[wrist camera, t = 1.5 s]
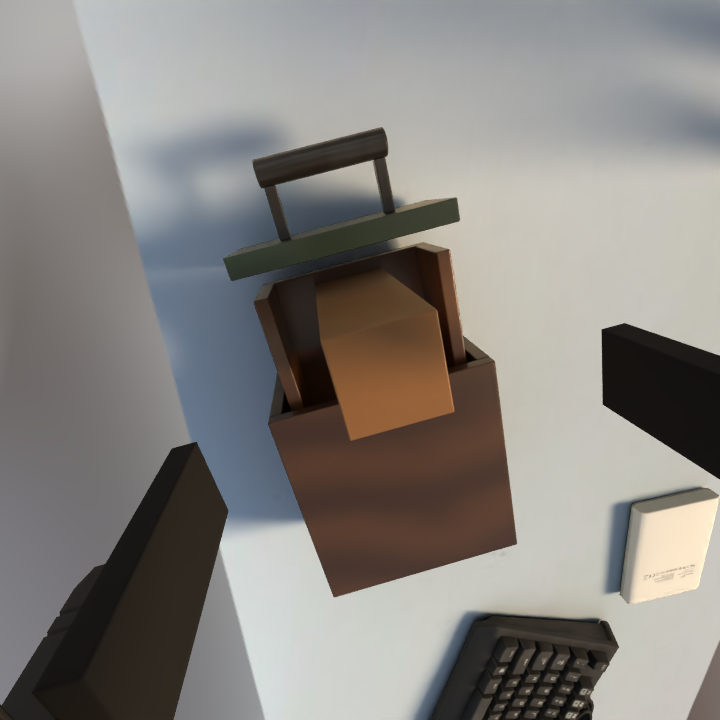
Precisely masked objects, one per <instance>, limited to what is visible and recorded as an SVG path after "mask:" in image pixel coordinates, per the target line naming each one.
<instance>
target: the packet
mask: <svg viewBox="0 0 720 720" xmlns="http://www.w3.org/2000/svg"><path fill="white" fill-rule="evenodd" d="M315 294H316V303H317V313H318V322H319V331H320V340H321V345H322V348H323V352H324V355H325V358H326V362H327V365H328V369H329V372H330V375H331V379H332V382H333V386H334V389H335V392H336V396H337V399H338V403H339V406H340V409H341V413H342V416H343V419H344V423H345V426H346V430H347V433H348V436H349V439H350V441H352V440H355V439H359V438H363V437H366V436H370V435H373V434H377V433H380V432H384V431H388V430H391V429H395V428H398V427H402V426H405V425H409V424H413V423H416V422H420V421H423V420H427V419H431V418H434V417H438V416H441V415H445V414H448V413H452V412H454V405H453V399H452V393H451V388H450V382H449V376H448V370H447V364H446V359H445V353H444V347H443V341H442V335H441V329H440V324H439V318H438V312H437V309H435V308H434V307H433V306H431V305H430V304H429V303H427V302H426V301H425V300H423V299H422V298H421V297H419V296H418V295H417V294H415V293H414V292H413V291H411V290H410V289H409V288H407V287H406V286H405V285H403V284H402V283H401V282H399V281H398V280H397V279H395V278H394V277H393V276H391V275H390V274H389V273H387V272H386V271H385V270H383V269H382V268H377V269H373V270H369V271H366V272H362V273H358V274H354V275H350V276H347V277H343V278H339V279H335V280H332V281H328V282H324V283H320V284H317V285H315Z"/></svg>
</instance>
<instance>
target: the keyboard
mask: <svg viewBox="0 0 720 720" xmlns="http://www.w3.org/2000/svg"><path fill="white" fill-rule="evenodd" d="M618 648H619V646H618V644H617V641H616V639H615V637H614V635H613V632H612V630H611V628H610V625H609V624H608V622H607V621H600V623H586V622H573V621H560V620H545V619H531V618H516V617H501V616H491V617H489V618H488V619H486V620H484V621H476V622H475V623H474V625H473V627H472V629H471V631H470V634H469V636H468V638H467V641H466V643H465V645H464V647H463V650H462V652H461V654H460V657H459V659H458V661H457V664H456V666H455V668H454V670H453V673H452V675H451V677H450V679H449V682H448V684H447V686H446V688H445V691H444V693H443V695H442V697H441V699H440V702H439V704H438V706H437V708H436V711H435V713H434V715H433V717H432V720H592V712H593V709H594V704H593V701H592V700H591V699H590V694H591V693H592V691H593V690H594V686H595V685H596V683H597V682H598V680H599V678H600V677H601V675H602V673H603V672H605V671H606V669H607V667H608V666H609V662H610V661H611V659H612V657H613V656H614V654H615V653H616V651H617V649H618Z"/></svg>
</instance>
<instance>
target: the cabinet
mask: <svg viewBox="0 0 720 720" xmlns="http://www.w3.org/2000/svg"><path fill="white" fill-rule="evenodd" d="M463 340H464V347H465V354H466V360H467V363H465V364H462V365H458V366H454V367H451V368H447V370H448V376H449V382H450V388H451V393H452V399H453V405H454V412H452V413H448V414H445V415H441V416H438V417H434V418H431V419H427V420H423V421H420V422H416V423H413V424H409V425H405V426H402V427H398V428H395V429H391V430H388V431H384V432H380V433H377V434H373V435H370V436H366V437H363V438H359V439H355V440H352V441H350V439H349V436H348V433H347V430H346V426H345V423H344V419H343V416H342V413H341V409H340V406H339V403H338V399H335V400H331V401H328V402H324V403H320V404H317V405H313V406H309V407H306V408H302V409H299V410H295V411H291V408H290V406H289V403H288V400H287V397H286V394H285V391H284V388H283V385H282V383H281V380H280V377H279V374H277V378H276V384H275V389H274V395H273V400H272V406H271V411H270V417H269V422H268V425H269V428H270V430H271V433H272V436H273V438H274V441H275V444H276V446H277V449H278V452H279V454H280V457H281V459H282V462H283V465H284V467H285V470H286V473H287V475H288V478H289V481H290V483H291V486H292V488H293V491H294V494H295V496H296V499H297V502H298V504H299V507H300V510H301V512H302V515H303V517H304V520H305V523H306V525H307V528H308V531H309V533H310V536H311V539H312V541H313V544H314V546H315V549H316V552H317V554H318V557H319V560H320V562H321V565H322V568H323V570H324V573H325V575H326V578H327V581H328V583H329V586H330V589H331V591H332V594H333V596H334V597H338V596H341V595H344V594H348V593H351V592H355V591H358V590H362V589H365V588H368V587H372V586H375V585H379V584H382V583H386V582H389V581H392V580H396V579H399V578H403V577H406V576H410V575H413V574H416V573H420V572H423V571H427V570H430V569H433V568H437V567H440V566H444V565H447V564H451V563H454V562H457V561H461V560H464V559H468V558H471V557H475V556H478V555H481V554H485V553H488V552H492V551H495V550H499V549H502V548H505V547H509V546H512V545H516V544H517V539H516V531H515V523H514V515H513V506H512V498H511V490H510V482H509V473H508V465H507V457H506V448H505V440H504V432H503V424H502V415H501V407H500V399H499V391H498V382H497V374H496V366H495V361H494V360H493V359H491V358H490V357H489V356H488V355H487V354H485V353H484V352H483V351H482V350H480V349H479V348H478V347H477V346H475V345H474V344H473V343H472V342H470V341H469V340H468V339H467V338H465V337H464V336H463Z"/></svg>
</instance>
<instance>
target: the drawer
mask: <svg viewBox="0 0 720 720" xmlns="http://www.w3.org/2000/svg"><path fill="white" fill-rule="evenodd" d="M387 155H388V142H387V137H386V133H385V131H384V129H383V128H382V127H380V128H376V129H372V130H368V131H365V132H361V133H357V134H353V135H349V136H345V137H341V138H337V139H333V140H329V141H325V142H321V143H317V144H313V145H309V146H306V147H302V148H298V149H294V150H290V151H286V152H282V153H278V154H274V155H270V156H266V157H262V158H258V159H254V160H253V162H252V163H253V168H254V171H255V175H256V178H257V181H258V183H259V186H260V187H261V188H265V192H266V195H267V199H268V202H269V205H270V208H271V212H272V215H273V218H274V222H275V225H276V228H277V231H278V235H279V239H276V240H272V241H268V242H264V243H260V244H256V245H253V246H249V247H245V248H241V249H239V250H238V251H236V252H234V253H232V254H230V255H229V256H227V257H225V258H224V259H223V260H224V263H225V266H226V269H227V271H228V274H229V277H230V280H231V281H235V280H239V279H242V278H246V277H250V276H254V275H258V274H261V273H265V272H269V271H273V270H276V269H280V268H284V267H288V266H292V265H295V264H299V263H303V262H307V261H311V260H314V259H318V258H322V257H326V256H330V255H333V254H337V253H341V252H345V251H348V250H352V249H356V248H360V247H364V246H367V245H371V244H375V243H379V242H383V241H386V240H390V239H394V238H398V237H402V236H405V235H409V234H413V233H417V232H421V231H424V230H428V229H432V228H436V227H439V226H443V225H447V224H451V223H455V222H458V221H460V216H459V209H458V202H457V198H456V197H455V198H445V199H435V200H425V201H421V202H417V203H413V204H409V205H406V206H402V207H398V208H395V206H394V201H393V196H392V191H391V186H390V181H389V175H388V170H387V165H386V160H385V157H386V156H387ZM371 160H374V161H373V164H374V169H375V174H376V179H377V184H378V189H379V194H380V199H381V203H382V208H383V212H379V213H375V214H371V215H367V216H364V217H360V218H356V219H352V220H348V221H344V222H341V223H337V224H333V225H329V226H325V227H321V228H318V229H314V230H310V231H306V232H302V233H298V234H295V235H290V232H289V228H288V225H287V221H286V218H285V215H284V211H283V208H282V204H281V201H280V198H279V194H278V191H277V187H276V186H275V185H278V184H282V183H286V182H289V181H293V180H297V179H301V178H305V177H309V176H313V175H317V174H321V173H324V172H328V171H332V170H336V169H340V168H344V167H348V166H352V165H356V164H359V163H363V162H367V161H371ZM377 268H382V269H383V270H385V271H386V272H387V273H389V274H390V275H391V276H393V277H394V278H395V279H397V280H398V281H399V282H401V283H402V284H403V285H405V286H406V287H407V288H409V289H410V290H411V291H413V292H414V293H415V294H417V295H418V296H419V297H421V298H422V299H423V300H425V301H426V302H427V303H429V304H430V305H431V306H433V307H434V308H435V309H437V312H438V318H439V324H440V329H441V335H442V341H443V347H444V353H445V359H446V364H447V368H451V367H454V366H458V365H462V364H465V363H467V360H466V354H465V347H464V340H463V334H462V327H461V320H460V314H459V307H458V301H457V294H456V287H455V281H454V274H453V267H452V261H451V254H450V250H449V249H446V248H442V247H438V246H434V245H431V244H427V243H423V242H422V243H419V244H415V245H411V246H407V247H403V248H400V249H396V250H392V251H388V252H385V253H381V254H377V255H373V256H369V257H366V258H362V259H358V260H354V261H351V262H347V263H343V264H339V265H335V266H332V267H328V268H324V269H320V270H317V271H313V272H309V273H305V274H301V275H298V276H294V277H290V278H286V279H283V280H279V281H275V282H271V283H267V284H264V285H263V286H262V288H261V290H260V291H259V293H258V295H257V296H256V298H255V300H254V305H255V308H256V311H257V314H258V317H259V319H260V322H261V325H262V328H263V331H264V334H265V337H266V340H267V342H268V345H269V348H270V351H271V354H272V357H273V360H274V363H275V365H276V368H277V371H278V374H279V377H280V380H281V383H282V385H283V388H284V391H285V394H286V397H287V400H288V403H289V406H290V408H291V411H295V410H299V409H302V408H306V407H309V406H313V405H317V404H320V403H324V402H328V401H331V400H335V399H337V396H336V392H335V389H334V386H333V382H332V379H331V375H330V372H329V369H328V365H327V362H326V358H325V355H324V352H323V348H322V345H321V340H320V331H319V322H318V313H317V303H316V294H315V285H317V284H320V283H324V282H328V281H332V280H335V279H339V278H343V277H347V276H350V275H354V274H358V273H362V272H366V271H369V270H373V269H377Z"/></svg>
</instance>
